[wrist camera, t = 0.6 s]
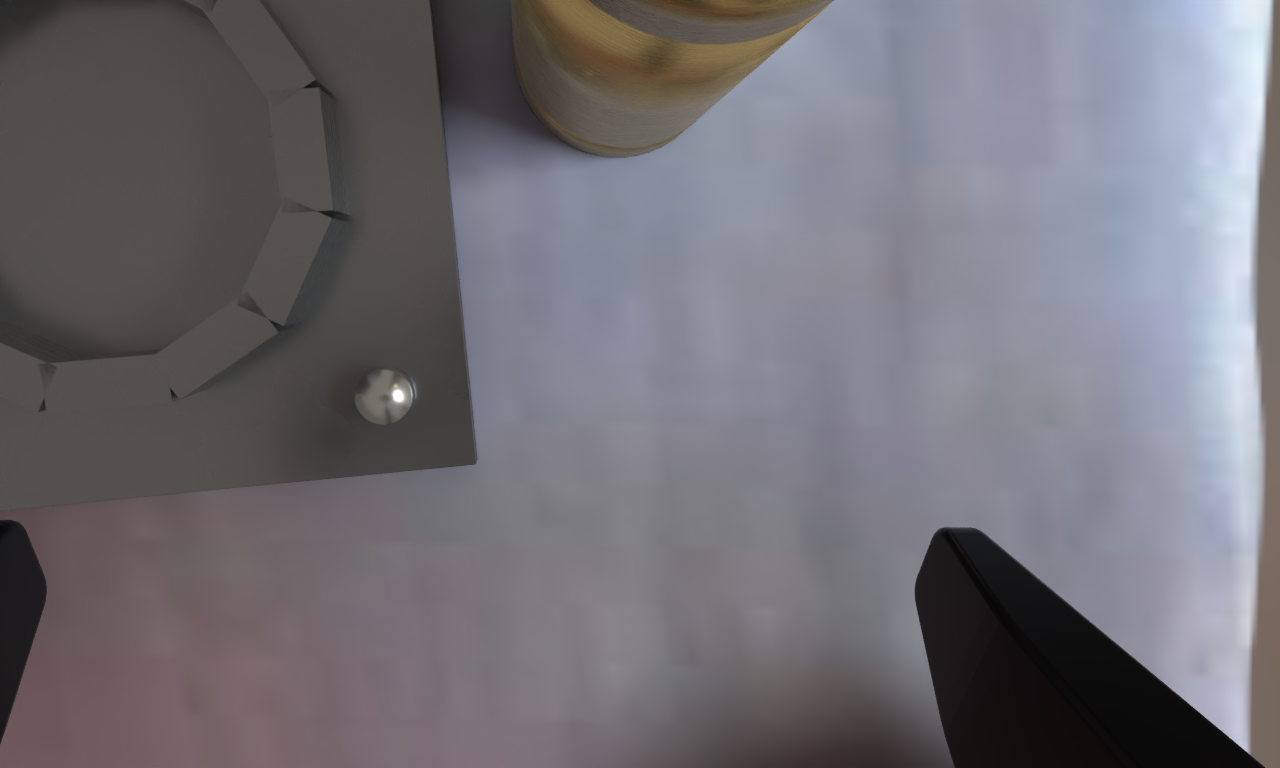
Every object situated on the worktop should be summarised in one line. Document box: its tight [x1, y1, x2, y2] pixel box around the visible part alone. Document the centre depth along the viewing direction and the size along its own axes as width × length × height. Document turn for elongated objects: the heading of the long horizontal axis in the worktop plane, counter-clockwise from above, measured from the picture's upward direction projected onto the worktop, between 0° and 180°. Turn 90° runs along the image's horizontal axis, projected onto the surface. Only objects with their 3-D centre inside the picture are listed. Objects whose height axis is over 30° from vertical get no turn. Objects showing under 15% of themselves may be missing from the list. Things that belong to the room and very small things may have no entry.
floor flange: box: [0, 0, 477, 511], centre depth 19 cm, size 14×14×2 cm
